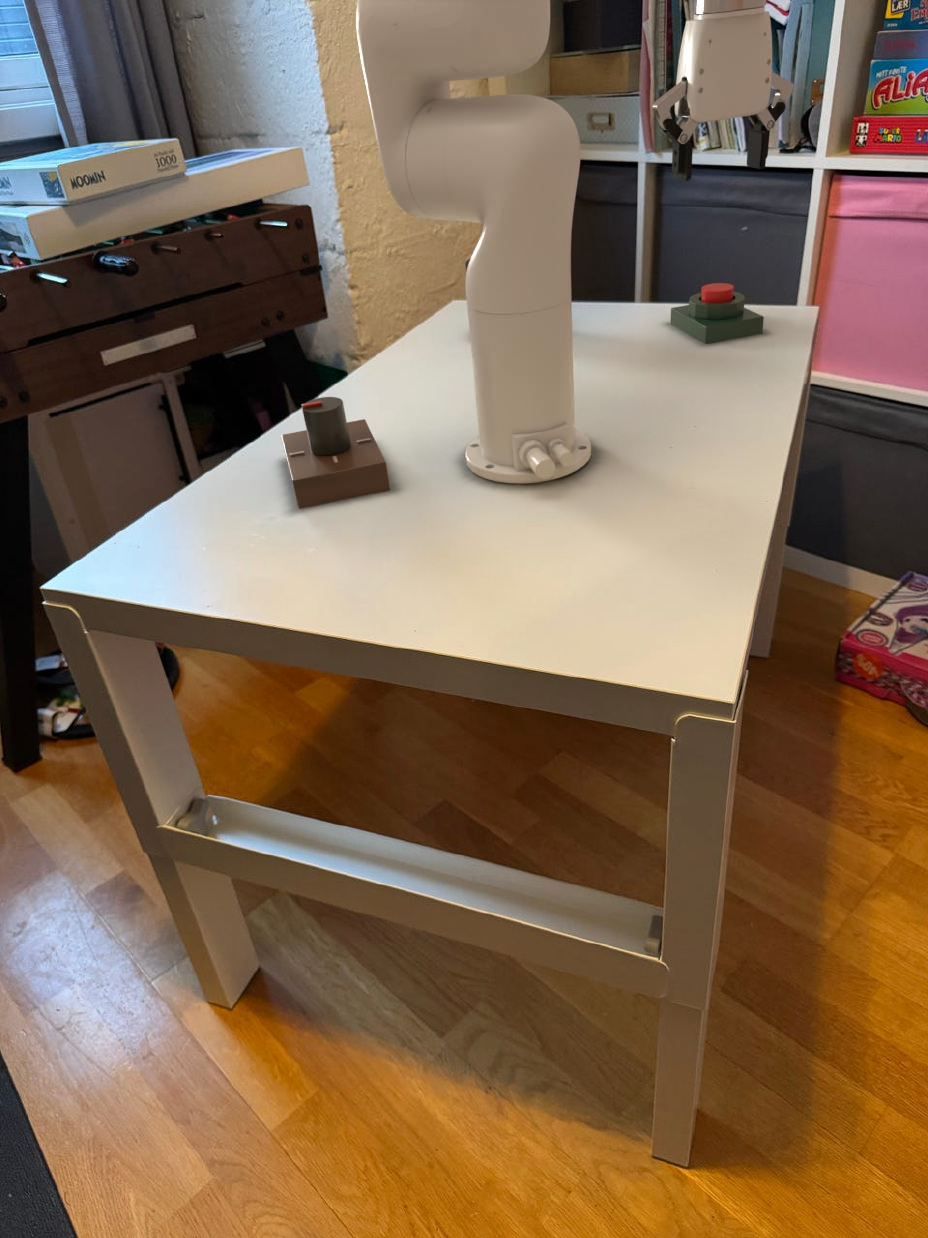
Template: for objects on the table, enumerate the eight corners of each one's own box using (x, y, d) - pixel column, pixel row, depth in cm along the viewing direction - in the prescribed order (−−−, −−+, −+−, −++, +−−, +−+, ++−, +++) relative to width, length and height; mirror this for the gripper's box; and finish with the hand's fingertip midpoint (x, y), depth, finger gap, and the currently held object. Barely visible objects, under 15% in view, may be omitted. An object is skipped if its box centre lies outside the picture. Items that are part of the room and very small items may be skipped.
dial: (347, 436, 90) (339, 390, 87) (353, 450, 87) (345, 404, 84) (308, 443, 89) (299, 398, 87) (313, 458, 86) (303, 412, 84)
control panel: (390, 490, 86) (385, 460, 84) (298, 508, 84) (291, 478, 83) (369, 444, 95) (364, 417, 94) (286, 460, 94) (280, 433, 92)
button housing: (762, 333, 113) (765, 301, 111) (705, 344, 112) (707, 312, 109) (723, 314, 121) (725, 284, 119) (670, 324, 120) (671, 294, 118)
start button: (738, 302, 113) (739, 287, 112) (710, 307, 112) (710, 293, 111) (723, 294, 116) (724, 281, 115) (695, 299, 116) (696, 286, 115)
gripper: (781, -8, 101) (767, 159, 110) (641, 10, 98) (639, 180, 107) (820, -11, 95) (801, 166, 104) (672, 8, 92) (667, 188, 101)
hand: (719, 173), depth 106 cm, fingers open, 9 cm apart
